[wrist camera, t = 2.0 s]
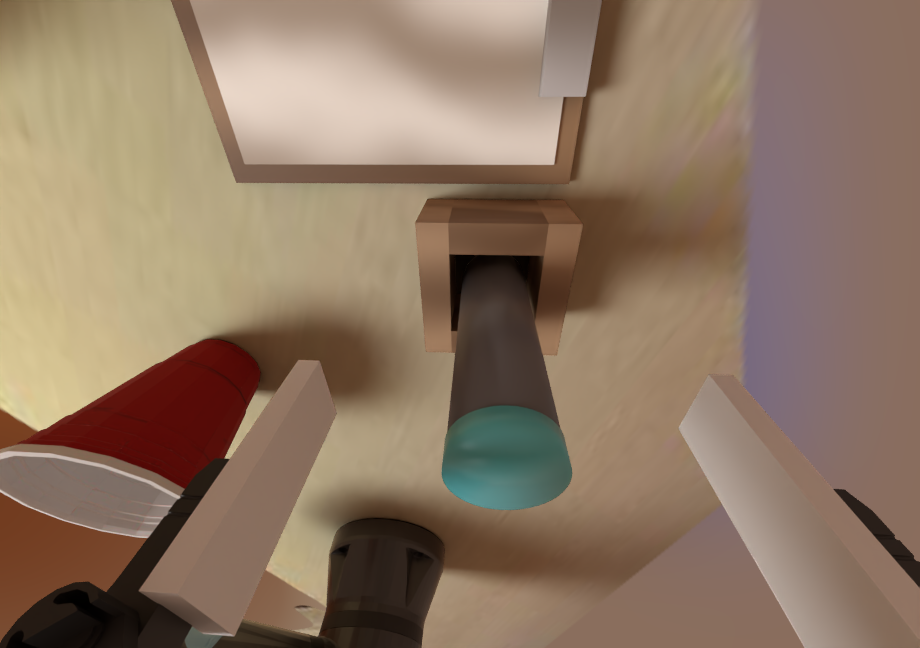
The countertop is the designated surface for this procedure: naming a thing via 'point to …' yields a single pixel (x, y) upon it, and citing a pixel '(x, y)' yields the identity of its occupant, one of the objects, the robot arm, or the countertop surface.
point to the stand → (496, 233)
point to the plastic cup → (135, 442)
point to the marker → (501, 397)
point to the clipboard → (394, 87)
